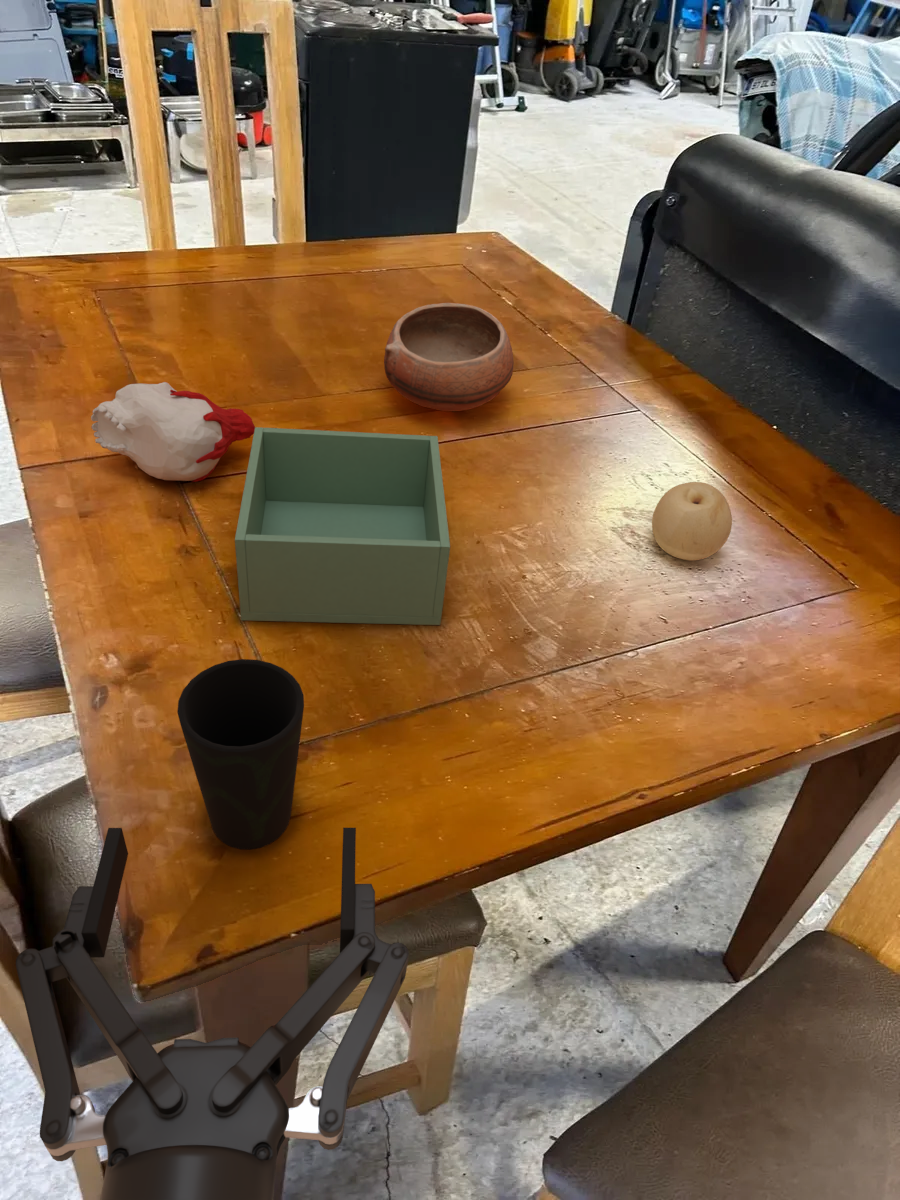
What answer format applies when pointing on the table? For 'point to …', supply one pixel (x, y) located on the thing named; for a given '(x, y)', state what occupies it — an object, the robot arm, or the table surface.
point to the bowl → (448, 356)
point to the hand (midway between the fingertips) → (235, 839)
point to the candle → (169, 430)
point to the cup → (244, 747)
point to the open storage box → (342, 528)
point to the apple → (692, 521)
